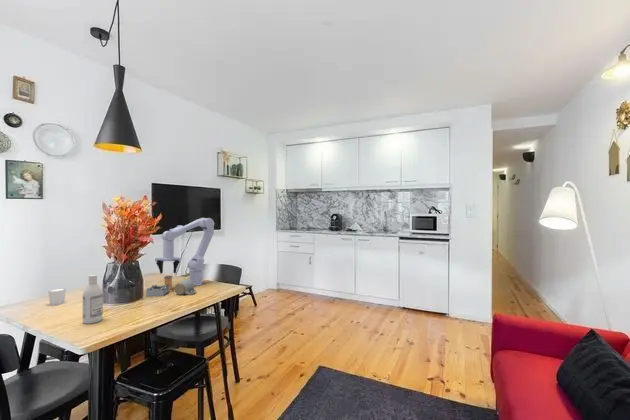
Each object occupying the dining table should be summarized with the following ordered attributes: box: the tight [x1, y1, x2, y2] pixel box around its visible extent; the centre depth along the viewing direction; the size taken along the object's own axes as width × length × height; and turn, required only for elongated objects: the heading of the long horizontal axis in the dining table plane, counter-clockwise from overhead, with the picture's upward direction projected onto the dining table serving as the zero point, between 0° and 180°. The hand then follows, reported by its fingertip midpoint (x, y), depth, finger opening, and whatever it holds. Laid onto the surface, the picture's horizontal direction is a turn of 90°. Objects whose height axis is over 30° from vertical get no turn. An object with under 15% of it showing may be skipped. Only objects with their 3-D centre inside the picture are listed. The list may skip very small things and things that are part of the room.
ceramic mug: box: [174, 278, 196, 296], centre depth 169 cm, size 11×8×8 cm
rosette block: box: [145, 284, 170, 297], centre depth 168 cm, size 9×9×4 cm
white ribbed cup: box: [48, 287, 67, 306], centre depth 150 cm, size 7×7×7 cm
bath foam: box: [82, 274, 104, 325], centre depth 127 cm, size 7×7×20 cm
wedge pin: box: [163, 275, 173, 291], centre depth 177 cm, size 4×4×8 cm
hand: (168, 273), depth 177 cm, fingers open, 7 cm apart
